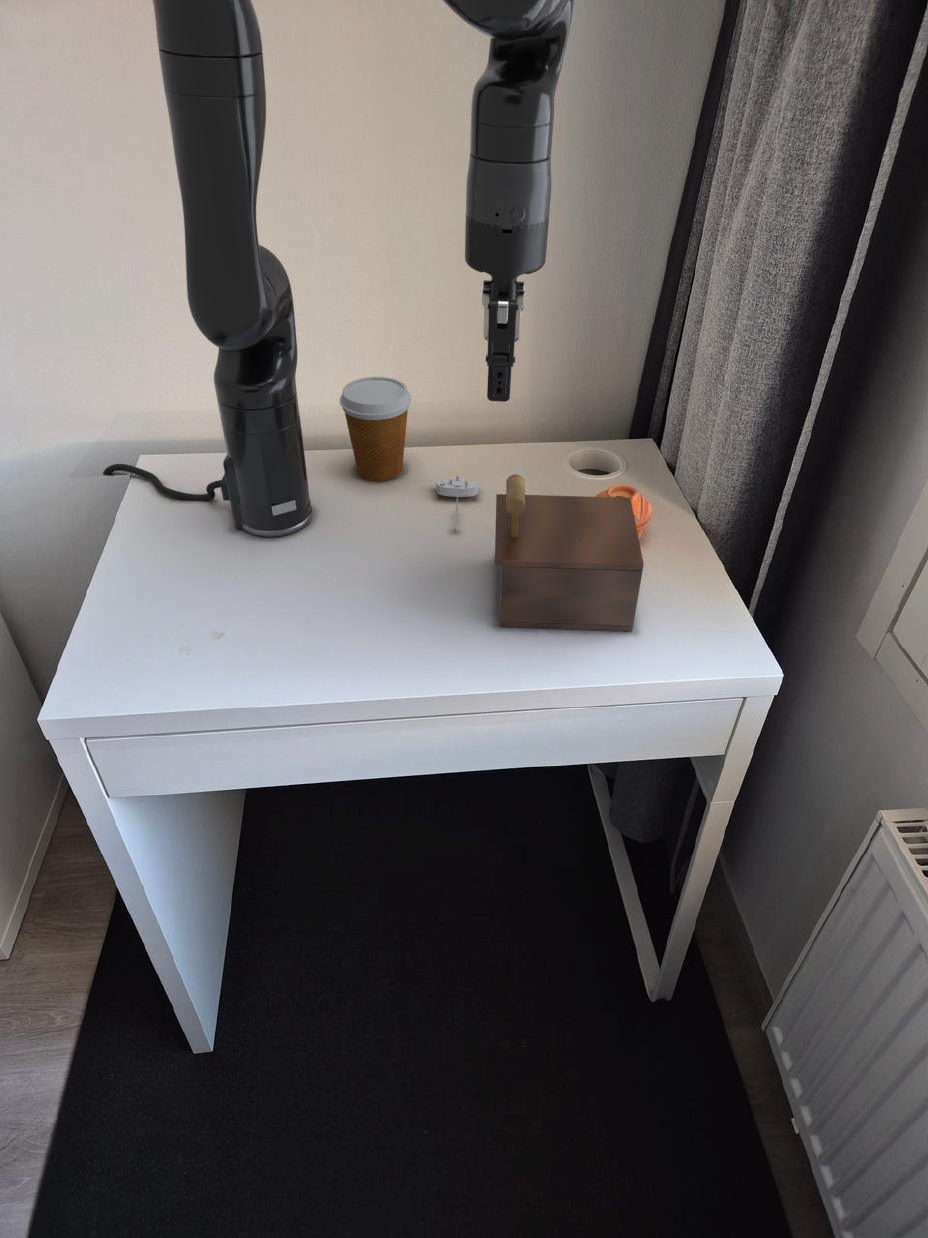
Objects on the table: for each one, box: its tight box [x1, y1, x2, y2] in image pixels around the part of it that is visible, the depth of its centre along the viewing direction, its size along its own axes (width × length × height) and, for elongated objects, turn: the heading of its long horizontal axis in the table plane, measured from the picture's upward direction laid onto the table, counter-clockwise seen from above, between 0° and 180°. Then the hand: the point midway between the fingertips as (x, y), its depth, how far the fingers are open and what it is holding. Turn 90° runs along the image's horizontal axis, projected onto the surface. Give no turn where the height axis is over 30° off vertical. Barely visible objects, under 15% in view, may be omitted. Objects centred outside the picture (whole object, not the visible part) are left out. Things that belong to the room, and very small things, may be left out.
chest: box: [498, 566, 644, 632], centre depth 98 cm, size 15×13×8 cm
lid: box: [494, 473, 645, 570], centre depth 93 cm, size 15×13×6 cm
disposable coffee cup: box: [339, 376, 412, 482], centre depth 118 cm, size 10×10×12 cm
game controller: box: [436, 475, 480, 533], centre depth 114 cm, size 6×12×3 cm, turn 15°
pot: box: [594, 484, 653, 540], centre depth 108 cm, size 8×8×7 cm
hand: (499, 381), depth 88 cm, fingers open, 8 cm apart
